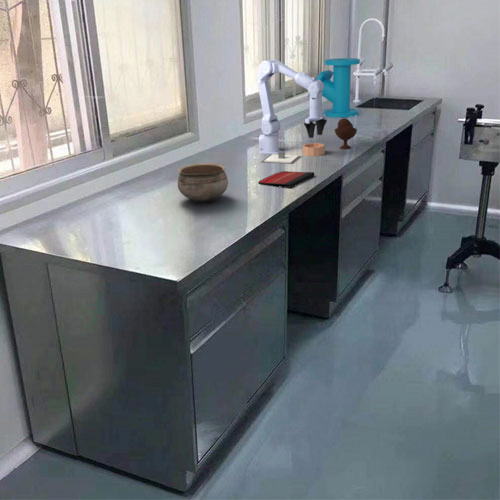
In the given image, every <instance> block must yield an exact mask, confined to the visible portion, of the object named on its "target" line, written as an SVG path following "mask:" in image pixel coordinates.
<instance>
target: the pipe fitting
mask: <svg viewBox="0 0 500 500" xmlns="http://www.w3.org/2000/svg"><path fill="white" fill-rule="evenodd" d="M360 62H361V59H360V58H356V57H355V58H352V57H351V58H350V57H349V58H348V57H343V58H339V57H338V58H337V57H336V58H328V59H324V65H325V66H332V67H333V68H332V70H333V71H332V70H331V69H327V70H324V71H323V70H322V71H321V72H320V73H319V74H318V76H317V77H316V78H315V80H321V81H322V82H323V84H324V89H323V91H322V98H325V100H326V99H327V101H329V102H330V103H332V108H328V109H325V110H324V112H323V114H324V115H326V117H327V116H330V117H329V118H334V117H345V118H350V117H349V116H354V117H356V116H355V115H357V116H359V109H356V108H351V76H352V75H351V73H352V71H351V70H352V69H351V68H352V66H353V65H354V66H356V65H360V64H361V63H360ZM332 77H333V78H332ZM331 79H333V80H331ZM308 98H310V93H309V92H308Z"/></svg>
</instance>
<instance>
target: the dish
mask: <svg viewBox="0 0 500 500" xmlns="http://www.w3.org/2000/svg"><path fill="white" fill-rule="evenodd" d="M325 154H326V145H325V144H323V143H319V142H317V143H316V142H313V143H311V142H310V143H305V144H303V145H302V156H306V157H320V156H321V157H322V156H324V155H325Z"/></svg>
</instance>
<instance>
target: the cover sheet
mask: <svg viewBox="0 0 500 500" xmlns="http://www.w3.org/2000/svg"><path fill="white" fill-rule="evenodd" d="M285 152H286V151H285V150H283V151H282V150H281V151H279V152H278V153H277V154H275V153H272V154H270V155H271V156H270V155H269V156H270V157H268V156H267V157H268V158H267V157H266V158H267V159H266V158H265V159H266V160H264V159H263V160H264V162H278V163H277V164H280V163H292V162H293V161H294V160H295V159H297V158H298V157H299V156H300V155H298V154H297V155H296V154H294V155H293V154H285Z"/></svg>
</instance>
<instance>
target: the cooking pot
mask: <svg viewBox="0 0 500 500" xmlns="http://www.w3.org/2000/svg"><path fill="white" fill-rule="evenodd" d="M225 170H226V166H225V165H223V164H220V163H213V162H211V163H210V162H201V163H193V164H192V163H191V164H187V165H183V166H181V167H180V168H178V170H177V171H178V172H179V175H178V177H177V178H178V179H177V188H178V191H179V192H180V193H181V195H182V196H184V197H185V198H187V199H189V200H192V201H194V202H196V203H199V204H200V203H201V204H207V203H210V202H211V203H212V202H213V201H214V200H215V199H218V198H219V197H220V196H221V195H223V194H224V193H225V192H226V191H227V189H228V185H229V180H228V175H227V173H226V171H225Z"/></svg>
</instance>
